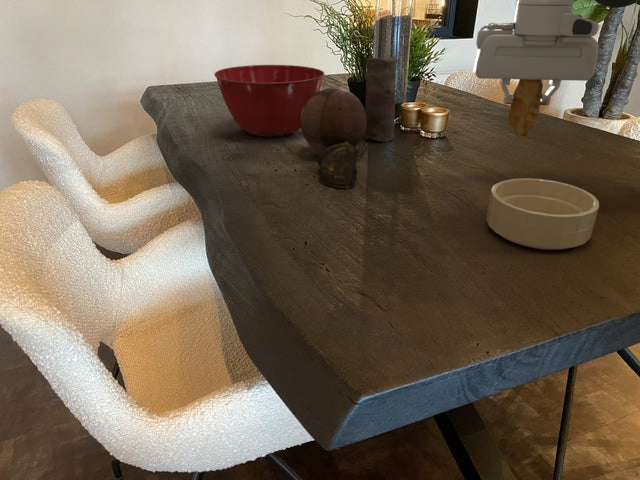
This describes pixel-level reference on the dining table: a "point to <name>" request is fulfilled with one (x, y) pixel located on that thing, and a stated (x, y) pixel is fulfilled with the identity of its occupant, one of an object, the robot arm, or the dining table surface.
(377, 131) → the candle
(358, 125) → the wooden sphere
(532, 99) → the stone tool
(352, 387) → the dining table surface
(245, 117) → the mixing bowl
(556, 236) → the bowl
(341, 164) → the seashell
